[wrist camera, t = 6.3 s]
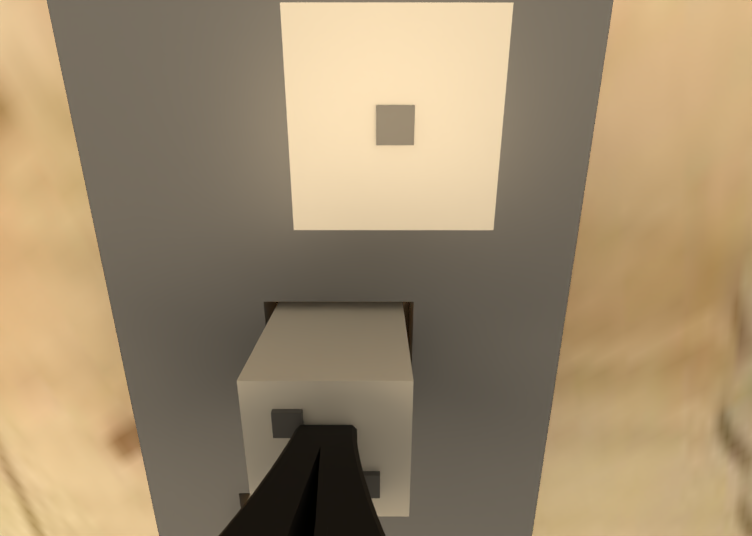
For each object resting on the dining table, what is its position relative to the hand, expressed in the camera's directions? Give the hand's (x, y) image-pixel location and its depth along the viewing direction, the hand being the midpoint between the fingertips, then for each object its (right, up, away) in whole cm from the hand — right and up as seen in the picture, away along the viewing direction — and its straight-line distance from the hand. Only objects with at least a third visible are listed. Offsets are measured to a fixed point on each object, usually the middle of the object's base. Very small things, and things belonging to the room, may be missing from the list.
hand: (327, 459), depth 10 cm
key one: (+1, +9, +2) cm, 9 cm away
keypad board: (0, +2, +5) cm, 6 cm away
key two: (0, +2, +5) cm, 5 cm away
